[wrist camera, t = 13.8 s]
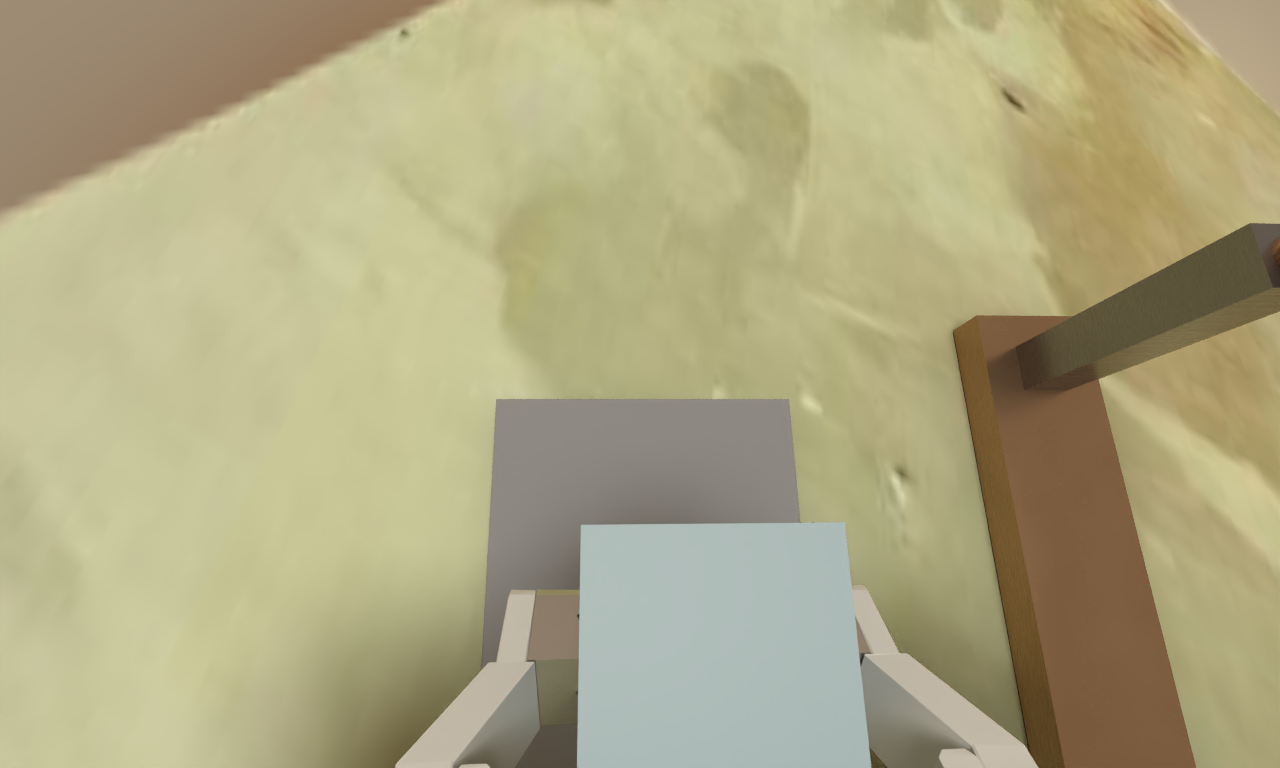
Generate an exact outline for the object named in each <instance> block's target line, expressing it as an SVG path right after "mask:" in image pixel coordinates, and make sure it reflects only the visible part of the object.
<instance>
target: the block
mask: <svg viewBox="0 0 1280 768" xmlns="http://www.w3.org/2000/svg"><path fill="white" fill-rule="evenodd" d="M577 768H871V759H870V750H869V741H868V732H867V722H866V713H865V704H864V695H863V686H862V676H861V667H860V658H859V649H858V640H857V630H856V621H855V612H854V603H853V594H852V584H851V575H850V566H849V557H848V547H847V538H846V529H845V522H842V523H731V524H620V525H581V549H580V611H579V673H578V734H577Z"/></svg>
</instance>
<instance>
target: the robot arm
mask: <svg viewBox="0 0 1280 768" xmlns="http://www.w3.org/2000/svg"><path fill="white" fill-rule="evenodd" d="M852 594H853V603H854V612H855V621H856V630H857V640H858V649H859V658H860V667H861V676H862V686H863V695H864V704H865V713H866V722H867V732H868V741H869V747H870V748H871V750H872V751H873V752H874V753H875V754H876V755H877V756H878V757H879V759H880V760H881V761H882V762H883V763H884V764H885V765H886V766H887V768H1038V766H1037V765H1036V763H1035V761H1034V760H1033V758H1032V756H1031V755H1030V753H1029V752H1028V750H1027V748H1026V747H1025V745H1024V744H1023V743H1021V742H1020V741H1019V740H1017V739H1016V738H1015V737H1014V736H1012V735H1011V734H1010V733H1008V732H1007V731H1006V730H1005V729H1003V728H1002V727H1001V726H999V725H998V724H997V723H996V722H994V721H993V720H992V719H991V718H989V717H988V716H987V715H985V714H984V713H983V712H982V711H980V710H979V709H978V708H976V707H975V706H974V705H973V704H971V703H970V702H969V701H968V700H966V699H965V698H964V697H962V696H961V695H960V694H959V693H957V692H956V691H955V690H953V689H952V688H951V687H950V686H948V685H947V684H946V683H944V682H943V681H942V680H941V679H939V678H938V677H937V676H936V675H934V674H933V673H932V672H930V671H929V670H928V669H927V668H925V667H924V666H923V665H921V664H920V663H919V662H918V661H916V660H915V659H914V658H913V657H911V656H910V655H909V654H907V653H899V651H898V649H897V647H896V645H895V643H894V641H893V639H892V637H891V635H890V633H889V631H888V629H887V627H886V625H885V623H884V621H883V619H882V617H881V615H880V613H879V611H878V609H877V607H876V605H875V603H874V601H873V599H872V597H871V595H870V593H869V592H868V590H867V588H866V587H865V586H864V585H852ZM579 611H580V590H541V589H537V590H511V592H510V594H509V597H508V602H507V607H506V612H505V618H504V623H503V628H502V634H501V639H500V644H499V650H498V655H497V660H496V662H490V663H488V664H487V665H486V666H485V667H484V668H483V669H482V670H481V671H480V672H479V673H478V675H477V676H476V677H475V678H474V679H473V680H472V681H471V682H470V683H469V684H468V686H467V687H466V688H465V689H464V690H463V691H462V692H461V693H460V694H459V695H458V696H457V698H456V699H455V700H454V701H453V702H452V703H451V704H450V705H449V706H448V707H447V709H446V710H445V711H444V712H443V713H442V714H441V715H440V716H439V717H438V718H437V719H436V721H435V722H434V723H433V724H432V725H431V726H430V727H429V728H428V729H427V730H426V732H425V733H424V734H423V735H422V736H421V737H420V738H419V739H418V740H417V741H416V743H415V744H414V745H413V746H412V747H411V748H410V749H409V750H408V751H407V752H406V753H405V755H404V756H403V757H402V758H401V759H400V760H399V761H398V762H397V763H396V765H395V768H515V766H516V765H517V763H518V762H519V760H520V759H521V757H522V756H523V754H524V752H525V751H526V749H527V748H528V746H529V745H530V743H531V742H532V740H533V738H534V737H535V735H536V734H537V732H538V731H539V729H540V725H554V724H571V723H578V673H579Z"/></svg>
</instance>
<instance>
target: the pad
mask: <svg viewBox="0 0 1280 768" xmlns="http://www.w3.org/2000/svg"><path fill="white" fill-rule="evenodd" d="M731 523H800V514H799V503H798V492H797V482H796V471H795V460H794V449H793V438H792V427H791V416H790V406H789V399H496V417H495V434H494V452H493V470H492V488H491V506H490V523H489V541H488V559H487V577H486V594H485V612H484V630H483V648H482V665H481V670H482V669H483V668H484V667H485V666H486V665H487V664H488V663H490V662H496V660H497V655H498V650H499V644H500V639H501V634H502V628H503V623H504V618H505V612H506V607H507V602H508V597H509V594H510V592H511V590H537V589H541V590H580V549H581V525H620V524H731ZM577 734H578V723H571V724H554V725H540V729H539V731H538V732H537V734H536V735H535V737H534V738H533V740H532V742H531V743H530V745H529V746H528V748H527V749H526V751H525V752H524V754H523V756H522V757H521V759H520V760H519V762H518V763H517V765H516V766H515V768H577Z"/></svg>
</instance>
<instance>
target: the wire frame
mask: <svg viewBox="0 0 1280 768" xmlns="http://www.w3.org/2000/svg"><path fill="white" fill-rule="evenodd" d="M1279 311H1280V224H1257V223H1250V224H1248V225H1246V226H1244V227H1242V228H1240V229H1238V230H1236V231H1234V232H1233V233H1231V234H1229V235H1227V236H1225V237H1223V238H1221V239H1219V240H1217V241H1216V242H1214V243H1212V244H1210V245H1208V246H1206V247H1204V248H1202V249H1200V250H1198V251H1197V252H1195V253H1193V254H1191V255H1189V256H1187V257H1185V258H1183V259H1181V260H1179V261H1178V262H1176V263H1174V264H1172V265H1170V266H1168V267H1166V268H1164V269H1162V270H1160V271H1159V272H1157V273H1155V274H1153V275H1151V276H1149V277H1147V278H1145V279H1143V280H1141V281H1140V282H1138V283H1136V284H1134V285H1132V286H1130V287H1128V288H1126V289H1124V290H1123V291H1121V292H1119V293H1117V294H1115V295H1113V296H1111V297H1109V298H1107V299H1105V300H1104V301H1102V302H1100V303H1098V304H1096V305H1094V306H1092V307H1090V308H1088V309H1086V310H1085V311H1083V312H1081V313H1079V314H1077V315H1075V316H975V317H974V318H972V319H971V320H969V321H968V322H966V323H965V324H963V325H962V326H960V327H959V328H957V329H956V330H954V331H953V333H954V338H955V344H956V349H957V355H958V360H959V366H960V371H961V377H962V382H963V388H964V393H965V399H966V404H967V410H968V415H969V421H970V426H971V432H972V437H973V443H974V448H975V454H976V459H977V465H978V470H979V476H980V481H981V487H982V492H983V498H984V503H985V509H986V514H987V520H988V525H989V531H990V536H991V542H992V547H993V553H994V558H995V564H996V569H997V575H998V580H999V586H1000V591H1001V597H1002V602H1003V608H1004V613H1005V619H1006V624H1007V630H1008V635H1009V641H1010V646H1011V652H1012V657H1013V663H1014V668H1015V674H1016V679H1017V685H1018V690H1019V696H1020V701H1021V707H1022V712H1023V718H1024V723H1025V729H1026V734H1027V740H1028V745H1029V751H1030V755H1031V756H1032V758H1033V760H1034V761H1035V763H1036V765H1037V766H1038V768H1196V766H1195V762H1194V758H1193V754H1192V750H1191V746H1190V742H1189V738H1188V734H1187V730H1186V726H1185V722H1184V718H1183V714H1182V710H1181V706H1180V702H1179V698H1178V694H1177V690H1176V686H1175V682H1174V678H1173V674H1172V670H1171V666H1170V662H1169V658H1168V654H1167V650H1166V646H1165V642H1164V638H1163V634H1162V630H1161V626H1160V623H1159V619H1158V615H1157V611H1156V607H1155V603H1154V599H1153V595H1152V591H1151V587H1150V583H1149V579H1148V575H1147V571H1146V567H1145V563H1144V559H1143V555H1142V551H1141V547H1140V543H1139V539H1138V535H1137V531H1136V527H1135V523H1134V519H1133V515H1132V511H1131V507H1130V503H1129V499H1128V495H1127V491H1126V487H1125V483H1124V479H1123V476H1122V472H1121V468H1120V464H1119V460H1118V456H1117V452H1116V448H1115V444H1114V440H1113V436H1112V432H1111V428H1110V424H1109V420H1108V416H1107V412H1106V408H1105V404H1104V400H1103V396H1102V392H1101V388H1100V384H1099V380H1098V379H1100V378H1102V377H1105V376H1108V375H1110V374H1113V373H1116V372H1119V371H1121V370H1124V369H1127V368H1129V367H1132V366H1135V365H1137V364H1140V363H1143V362H1145V361H1148V360H1151V359H1153V358H1156V357H1159V356H1161V355H1164V354H1167V353H1169V352H1172V351H1175V350H1177V349H1180V348H1183V347H1185V346H1188V345H1191V344H1193V343H1196V342H1199V341H1201V340H1204V339H1207V338H1210V337H1212V336H1215V335H1218V334H1220V333H1223V332H1226V331H1228V330H1231V329H1234V328H1236V327H1239V326H1242V325H1244V324H1247V323H1250V322H1252V321H1255V320H1258V319H1260V318H1263V317H1266V316H1268V315H1271V314H1274V313H1276V312H1279Z"/></svg>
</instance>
